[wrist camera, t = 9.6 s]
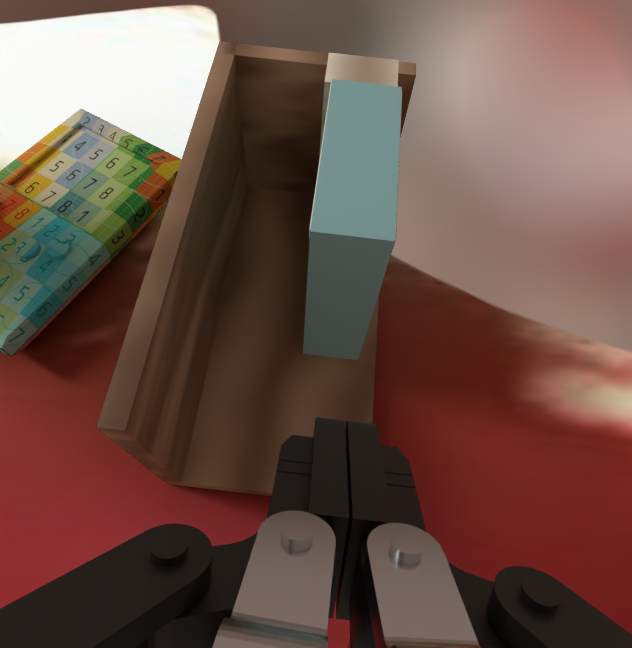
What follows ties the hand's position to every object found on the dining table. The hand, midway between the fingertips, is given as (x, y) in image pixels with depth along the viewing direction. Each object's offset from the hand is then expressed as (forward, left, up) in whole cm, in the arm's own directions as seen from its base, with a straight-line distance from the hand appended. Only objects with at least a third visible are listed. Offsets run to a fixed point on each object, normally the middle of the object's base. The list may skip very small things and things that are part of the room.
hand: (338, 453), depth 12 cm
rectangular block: (0, +17, -20) cm, 27 cm away
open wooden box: (-3, +15, -22) cm, 27 cm away
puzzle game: (-23, +20, -22) cm, 38 cm away
